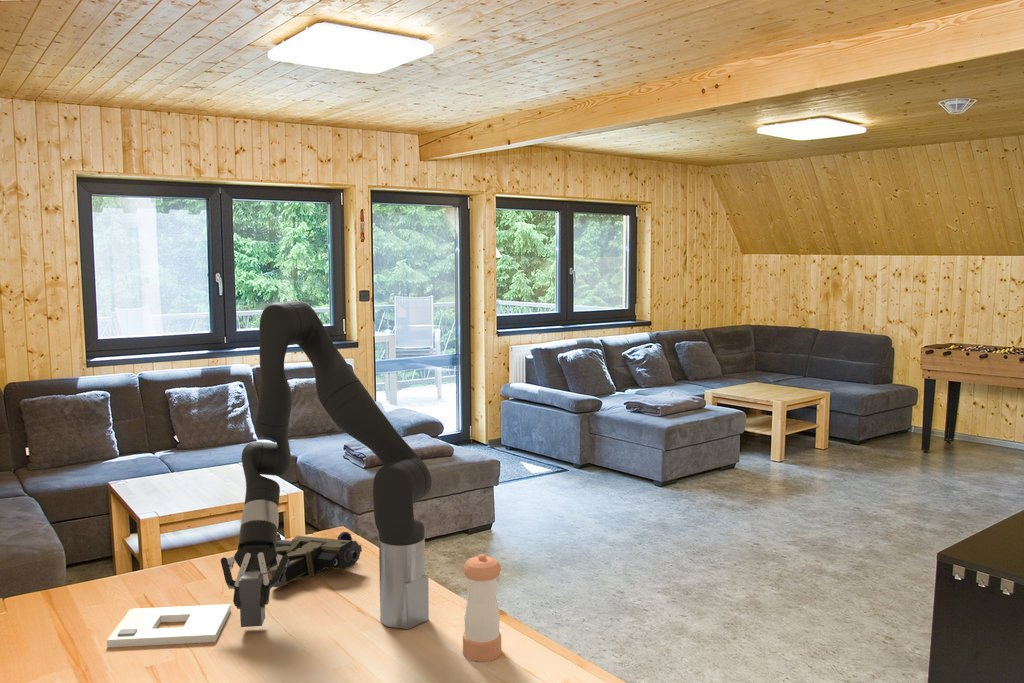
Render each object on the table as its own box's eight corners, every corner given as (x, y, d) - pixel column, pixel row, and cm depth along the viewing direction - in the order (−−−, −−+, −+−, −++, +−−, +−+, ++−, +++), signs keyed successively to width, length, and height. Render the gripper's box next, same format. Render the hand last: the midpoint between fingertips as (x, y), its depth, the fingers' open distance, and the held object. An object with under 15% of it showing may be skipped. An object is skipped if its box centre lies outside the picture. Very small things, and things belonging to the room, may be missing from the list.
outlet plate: (230, 610, 177) (230, 602, 177) (215, 642, 163) (215, 632, 163) (131, 615, 174) (130, 606, 174) (107, 647, 161) (106, 638, 160)
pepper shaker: (476, 640, 164) (476, 545, 162) (508, 649, 160) (508, 552, 158) (455, 655, 158) (454, 557, 156) (488, 665, 154) (488, 564, 152)
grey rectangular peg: (265, 617, 170) (263, 570, 169) (261, 626, 166) (259, 578, 165) (244, 618, 170) (242, 571, 168) (240, 627, 166) (238, 579, 164)
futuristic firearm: (305, 570, 181) (378, 529, 202) (207, 559, 197) (284, 521, 218) (310, 603, 182) (382, 558, 203) (212, 588, 198) (289, 548, 219)
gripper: (220, 520, 172) (209, 601, 162) (291, 517, 174) (285, 597, 163) (227, 536, 178) (216, 616, 167) (296, 533, 180) (290, 612, 169)
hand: (250, 606), depth 165 cm, fingers closed on grey rectangular peg, 4 cm apart
